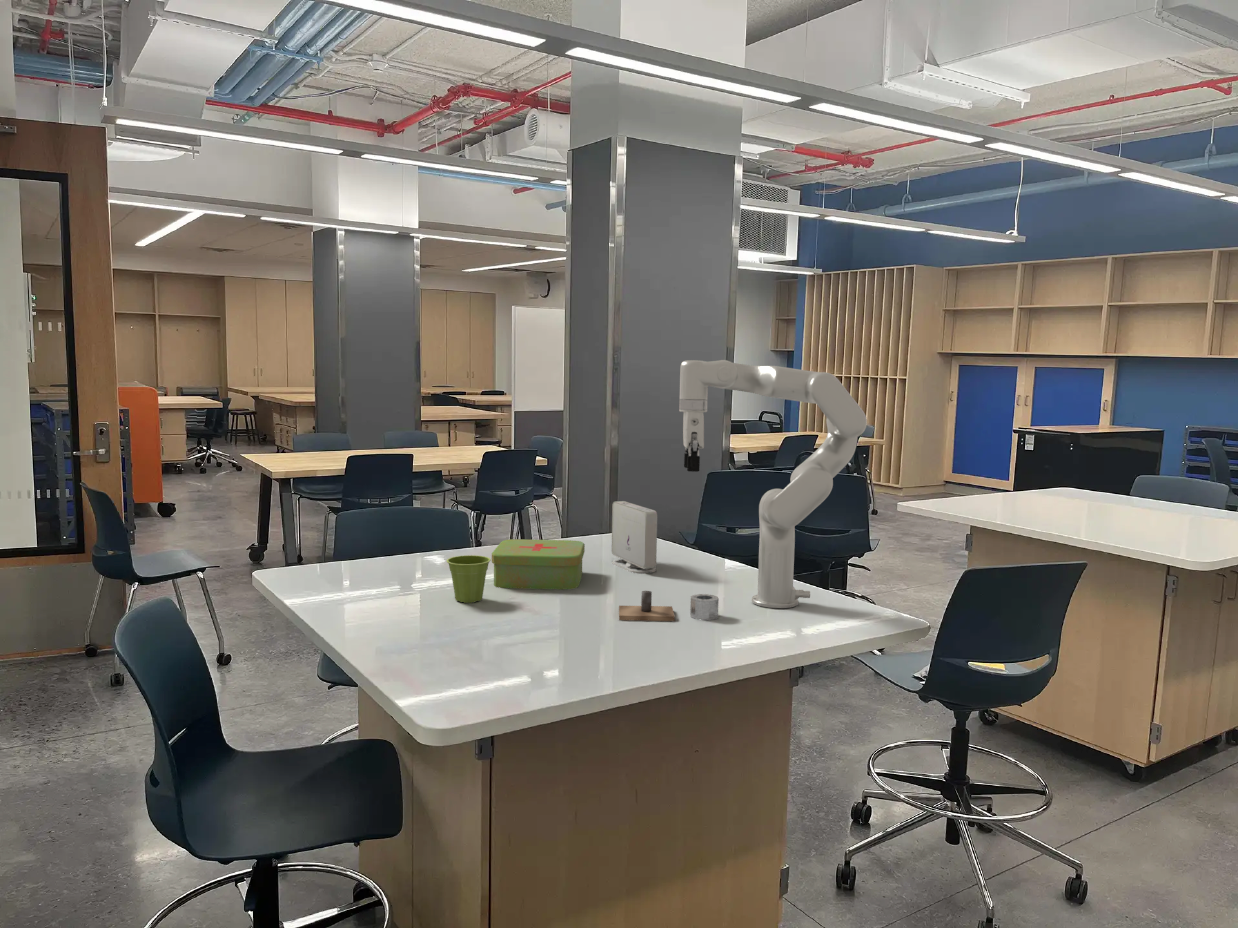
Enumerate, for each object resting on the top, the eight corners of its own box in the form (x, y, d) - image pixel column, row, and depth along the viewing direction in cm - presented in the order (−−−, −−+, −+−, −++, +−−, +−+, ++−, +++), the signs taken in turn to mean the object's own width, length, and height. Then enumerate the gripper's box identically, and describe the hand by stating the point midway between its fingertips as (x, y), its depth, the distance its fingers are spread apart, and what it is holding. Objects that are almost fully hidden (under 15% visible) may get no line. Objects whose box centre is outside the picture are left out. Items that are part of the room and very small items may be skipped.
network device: (605, 560, 301) (606, 501, 299) (628, 558, 305) (629, 500, 303) (638, 575, 278) (640, 512, 276) (663, 573, 282) (665, 510, 280)
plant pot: (441, 597, 247) (441, 557, 246) (482, 593, 252) (482, 553, 251) (453, 607, 237) (453, 565, 235) (496, 602, 242) (496, 561, 241)
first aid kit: (579, 591, 258) (580, 556, 257) (489, 589, 259) (489, 554, 258) (584, 571, 284) (585, 540, 283) (502, 569, 285) (502, 538, 284)
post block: (671, 610, 237) (672, 587, 236) (674, 620, 227) (675, 596, 226) (618, 609, 237) (619, 586, 236) (619, 620, 227) (619, 596, 226)
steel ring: (716, 612, 235) (716, 594, 235) (719, 620, 228) (719, 600, 228) (689, 612, 235) (689, 593, 235) (691, 619, 228) (692, 600, 228)
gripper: (710, 407, 233) (708, 473, 235) (703, 405, 250) (701, 466, 252) (682, 407, 233) (680, 472, 235) (676, 405, 250) (675, 466, 252)
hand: (691, 469), depth 243 cm, fingers open, 9 cm apart
